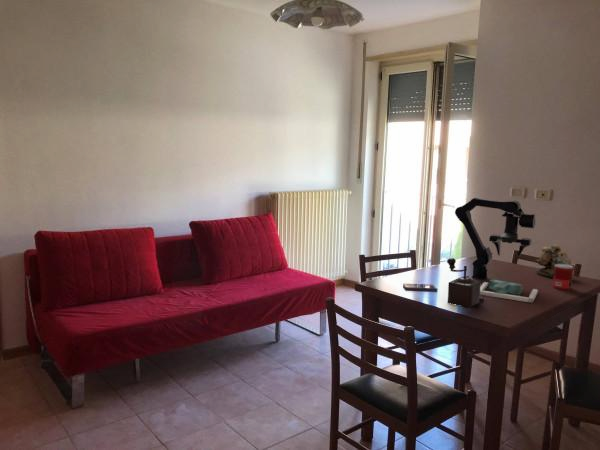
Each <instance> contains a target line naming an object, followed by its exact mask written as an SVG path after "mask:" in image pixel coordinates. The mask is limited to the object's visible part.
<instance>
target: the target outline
mask: <svg viewBox="0 0 600 450" xmlns="http://www.w3.org/2000/svg"><path fill="white" fill-rule="evenodd" d="M487 287H489V282H488V281H487V282H486V281H484V282H483V283H482V284H480V296H487V297H493V298H500V299H506V300H513V301H518V302H519V301H520V302H527V303H531V304H532V303H534V301H535V299H536V297H537V296H538V293H539V290H538V289H536V288H533V289H532V290H531V292H530V293H529V296H528V297H526V296H521V295H516V294H509V293H506V294H502V293H495V292H493V291H487V290H486V289H487Z"/></svg>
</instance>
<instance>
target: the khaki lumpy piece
mask: <svg viewBox="0 0 600 450" xmlns="http://www.w3.org/2000/svg"><path fill="white" fill-rule="evenodd" d="M535 262H537V264H538V265H539V266H543V267H541V268H540V269H538V270H536V274H537V275H538V276H541V277H542V276H543V277H544V278H548V279H552V278H553V277H554V266H555V264H566V265H571V263H572V260H571V258H570V257H569V256H568V254H567V252H565V251H563V250H562V248H561V246H560V245H559V244H552V245H551V247H549V246H544V247H542V250H541V253H540V256H539V259H536V260H535Z"/></svg>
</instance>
